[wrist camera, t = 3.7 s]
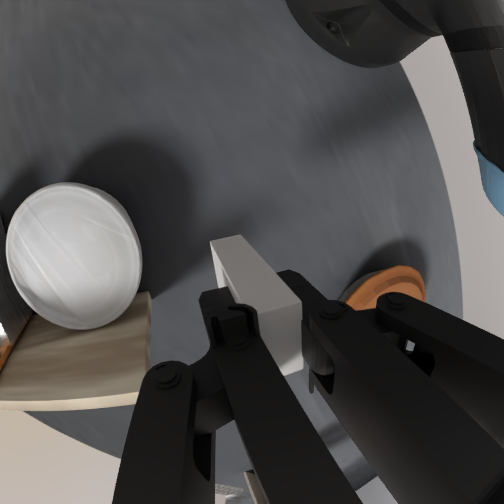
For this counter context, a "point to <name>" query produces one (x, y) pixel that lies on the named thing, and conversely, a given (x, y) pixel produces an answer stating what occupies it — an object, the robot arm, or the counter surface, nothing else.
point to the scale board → (78, 363)
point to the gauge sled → (9, 304)
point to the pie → (383, 286)
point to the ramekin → (74, 255)
